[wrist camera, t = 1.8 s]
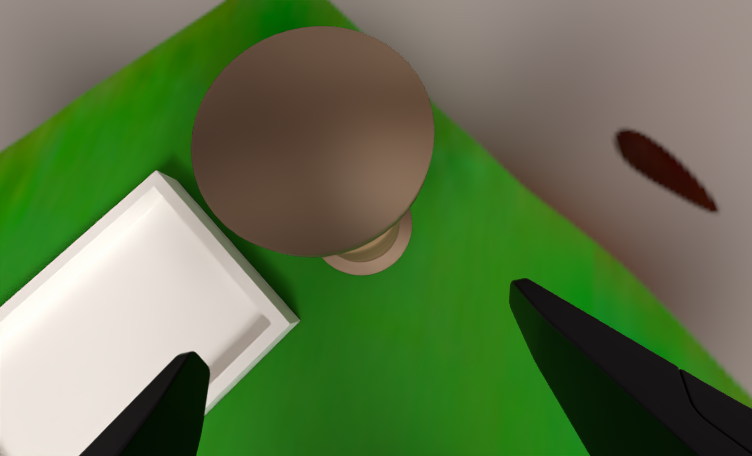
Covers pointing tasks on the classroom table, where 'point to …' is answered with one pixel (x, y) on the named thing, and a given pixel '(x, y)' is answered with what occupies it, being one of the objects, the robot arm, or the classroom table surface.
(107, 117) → the classroom table surface
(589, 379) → the robot arm
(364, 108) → the brown wooden spool
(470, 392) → the classroom table surface
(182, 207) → the white rectangular tray
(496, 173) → the classroom table surface
